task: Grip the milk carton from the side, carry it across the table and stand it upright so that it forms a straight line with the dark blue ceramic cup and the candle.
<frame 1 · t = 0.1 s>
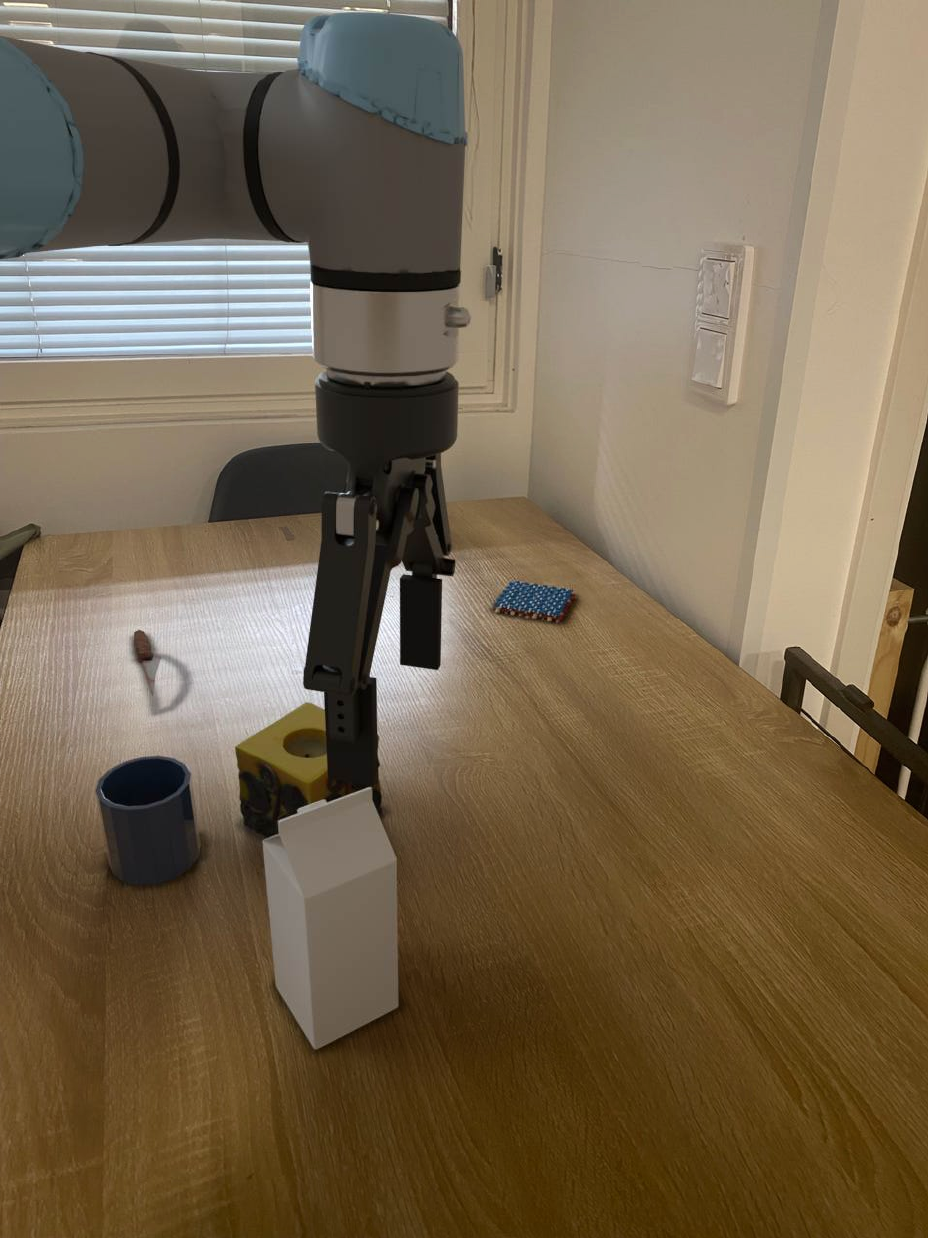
hand: (390, 716, 57), 28 cm above the table, tool pointing down, fingers open, 13 cm apart
blue cup: (156, 860, 85), on the table
candle: (313, 824, 91), on the table
milk carton: (336, 1003, 71), on the table
woven mat: (534, 609, 137), on the table
pump dispenser: (388, 526, 168), on the table
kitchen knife: (161, 674, 117), on the table
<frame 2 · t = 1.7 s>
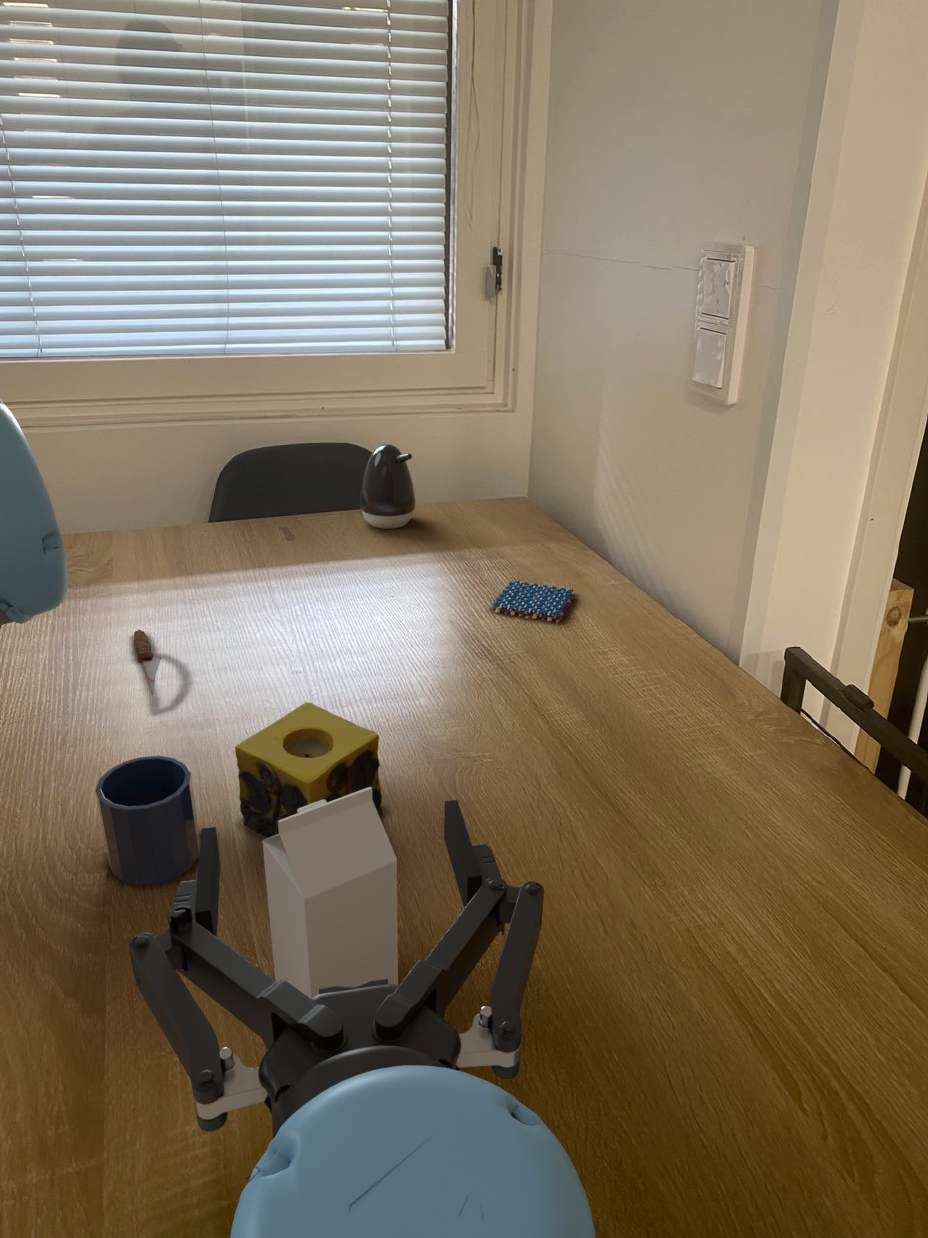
hand: (333, 832, 52), 24 cm above the table, tool horizontal, fingers open, 13 cm apart
nothing on the table moved.
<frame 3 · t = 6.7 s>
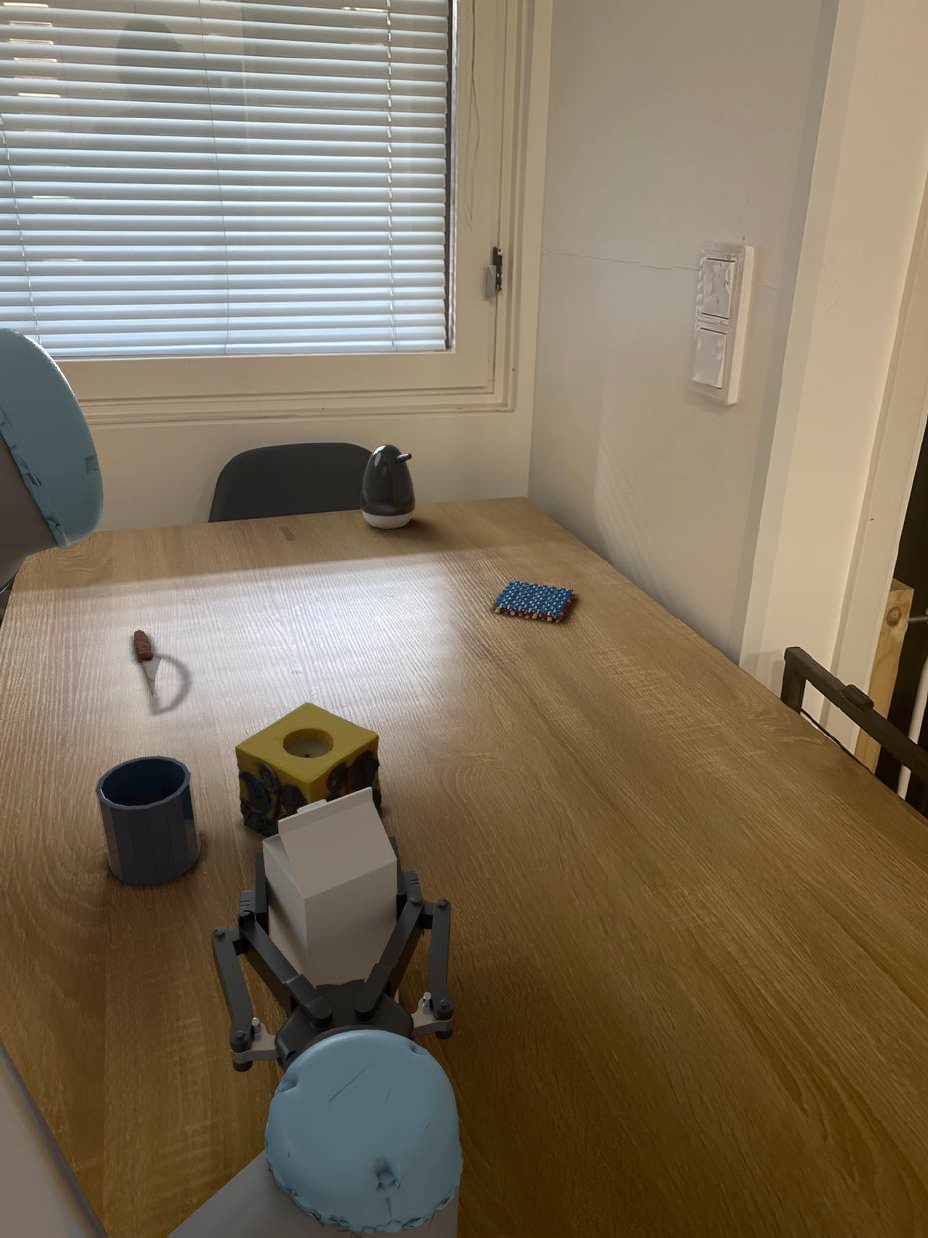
hand: (326, 857, 70), 10 cm above the table, tool horizontal, fingers closed on milk carton, 9 cm apart
milk carton: (336, 1003, 71), on the table, touching gripper
everything else where it was.
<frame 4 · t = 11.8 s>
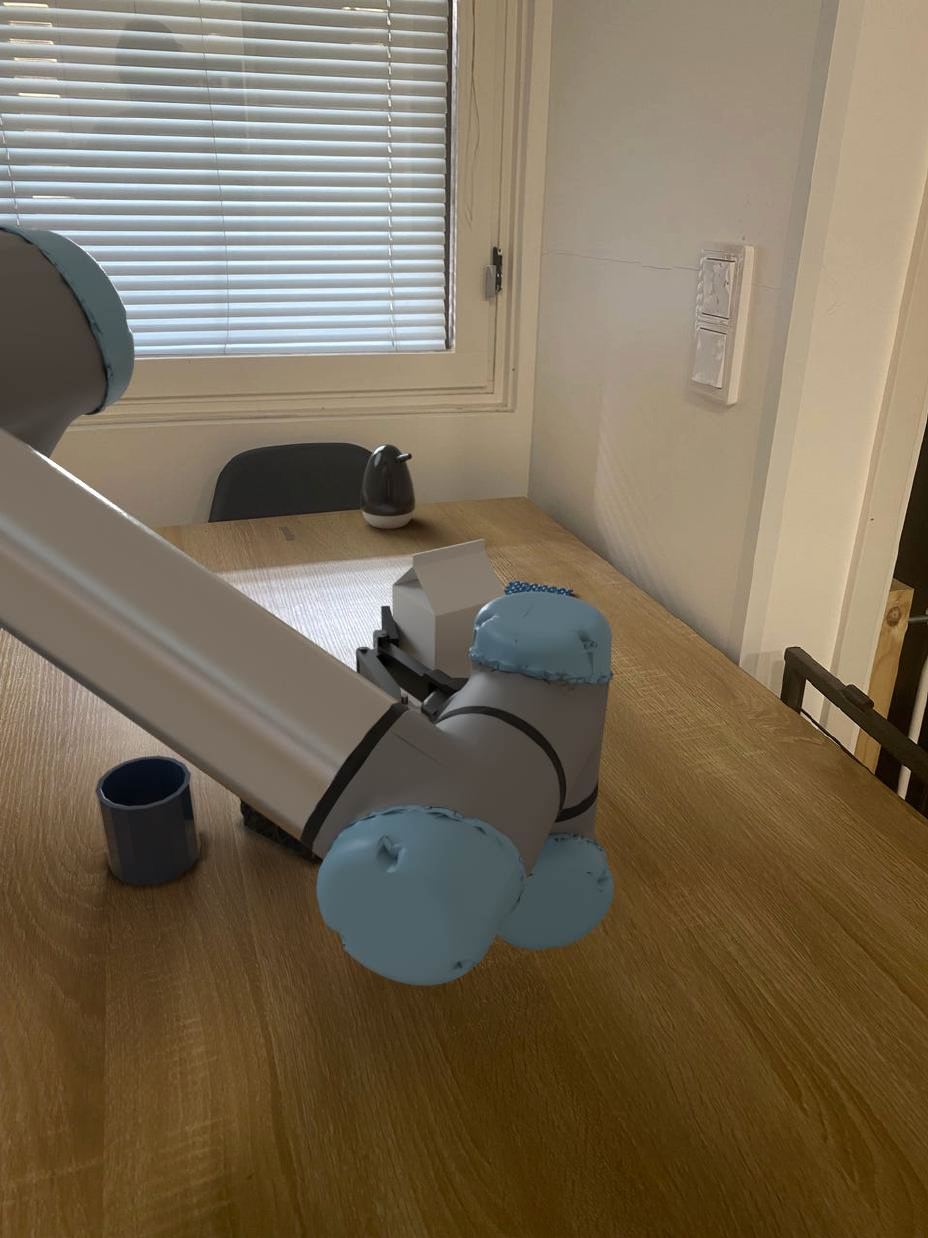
hand: (439, 615, 83), 22 cm above the table, tool horizontal, fingers closed on milk carton, 9 cm apart
milk carton: (446, 741, 84), point 11 cm above the table, touching gripper
everything else where it was.
when the fingers open (10 cm above the table, at t = 16.7 s): milk carton stays where it is, on the table.
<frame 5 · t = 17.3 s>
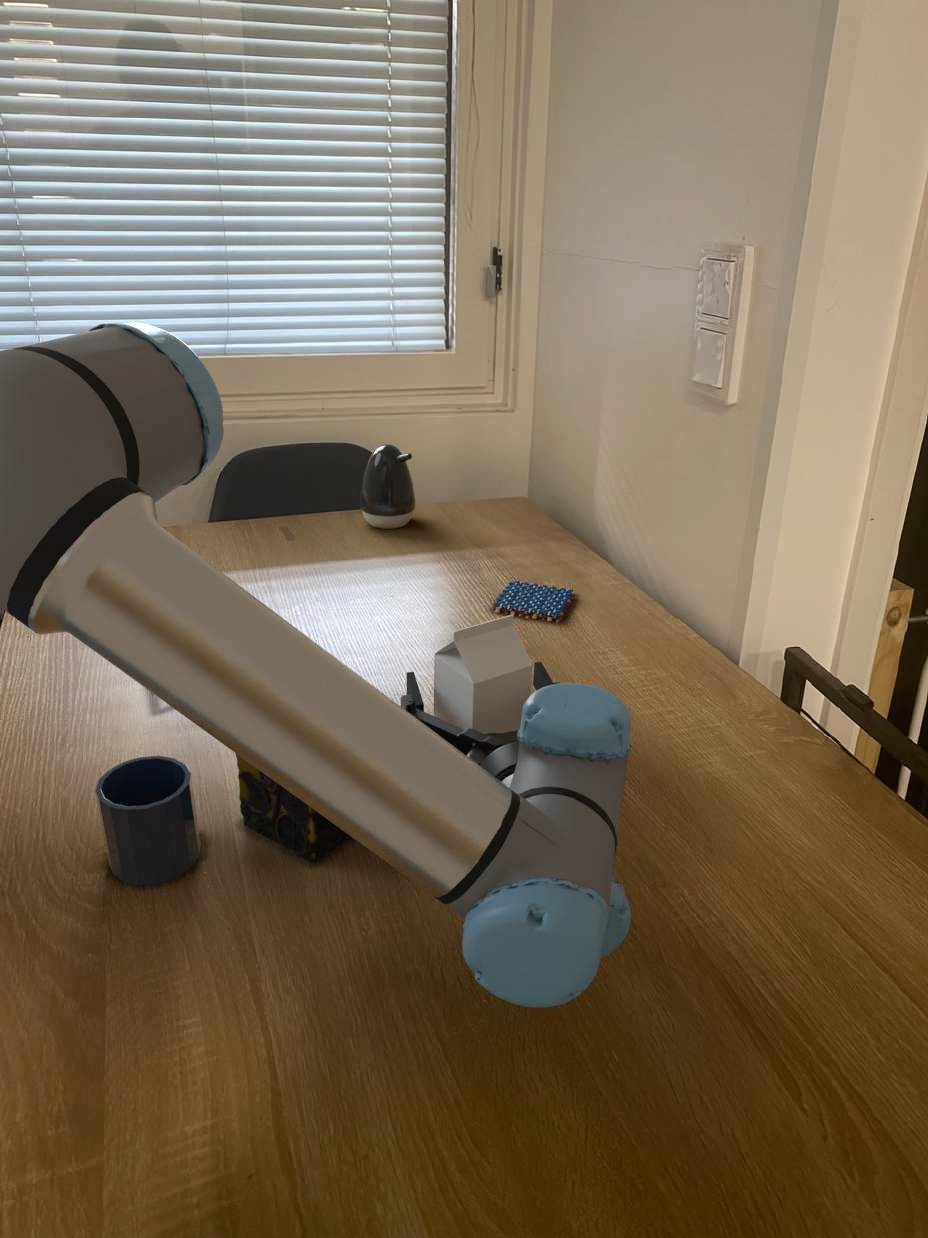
hand: (474, 678, 95), 11 cm above the table, tool horizontal, fingers open, 13 cm apart
milk carton: (478, 784, 97), on the table
everything else where it was.
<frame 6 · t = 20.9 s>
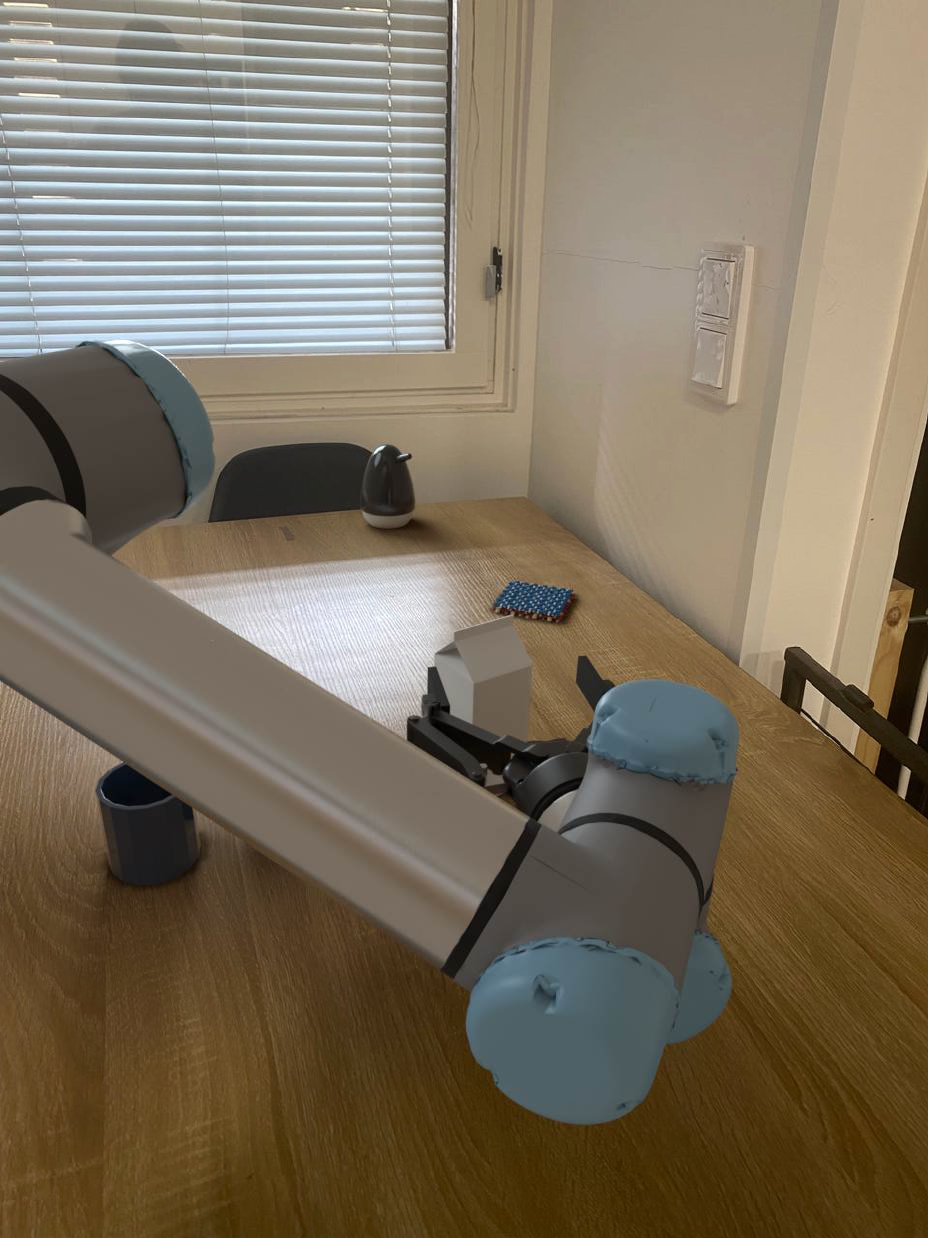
hand: (507, 674, 80), 19 cm above the table, tool horizontal, fingers open, 13 cm apart
nothing on the table moved.
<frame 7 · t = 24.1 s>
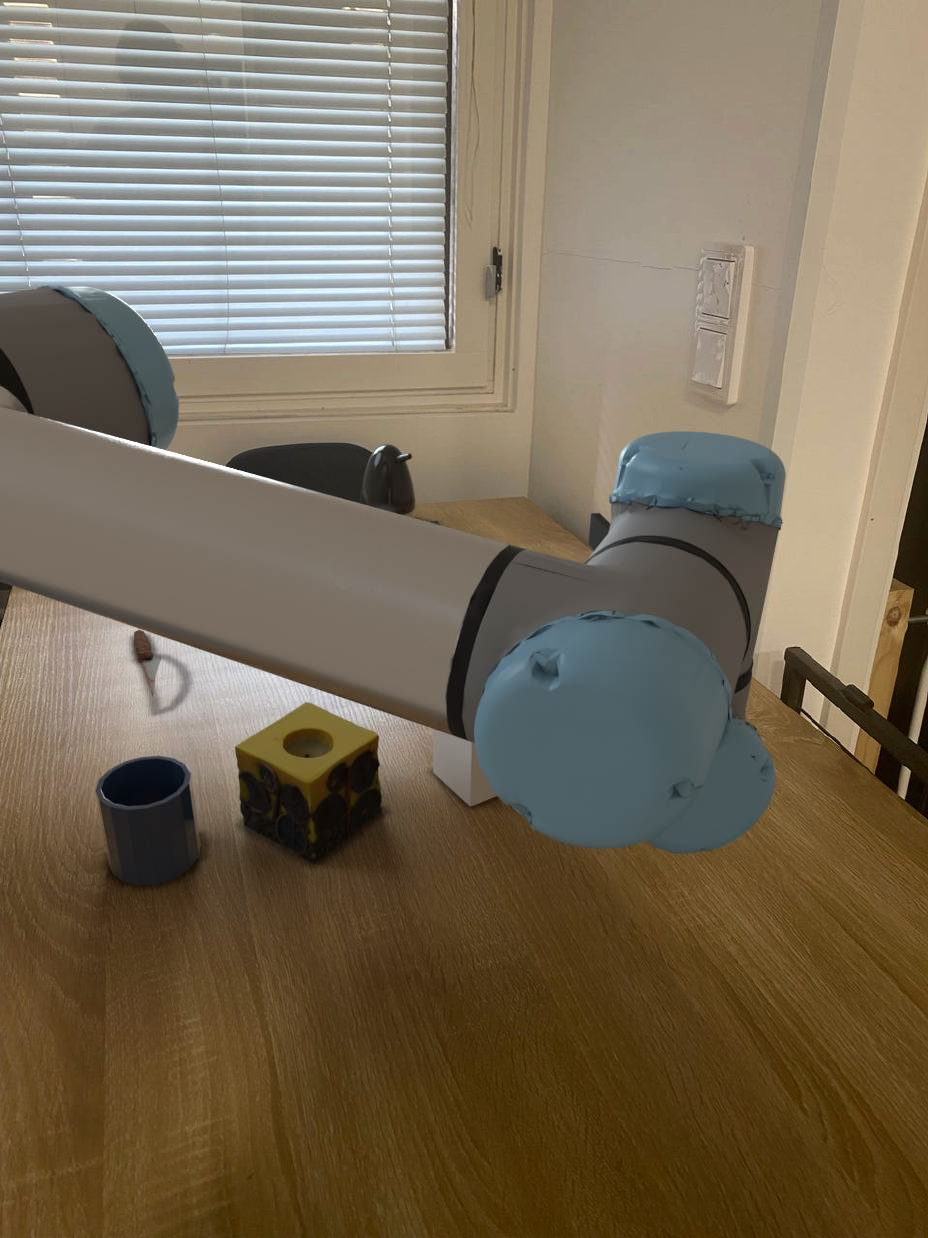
hand: (514, 532, 75), 32 cm above the table, tool horizontal, fingers open, 13 cm apart
nothing on the table moved.
at the end: milk carton 0.1 cm from the target spot on the table beside the candle, on the table; milk carton tilted 0°; candle moved 0.2 cm from its start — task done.
